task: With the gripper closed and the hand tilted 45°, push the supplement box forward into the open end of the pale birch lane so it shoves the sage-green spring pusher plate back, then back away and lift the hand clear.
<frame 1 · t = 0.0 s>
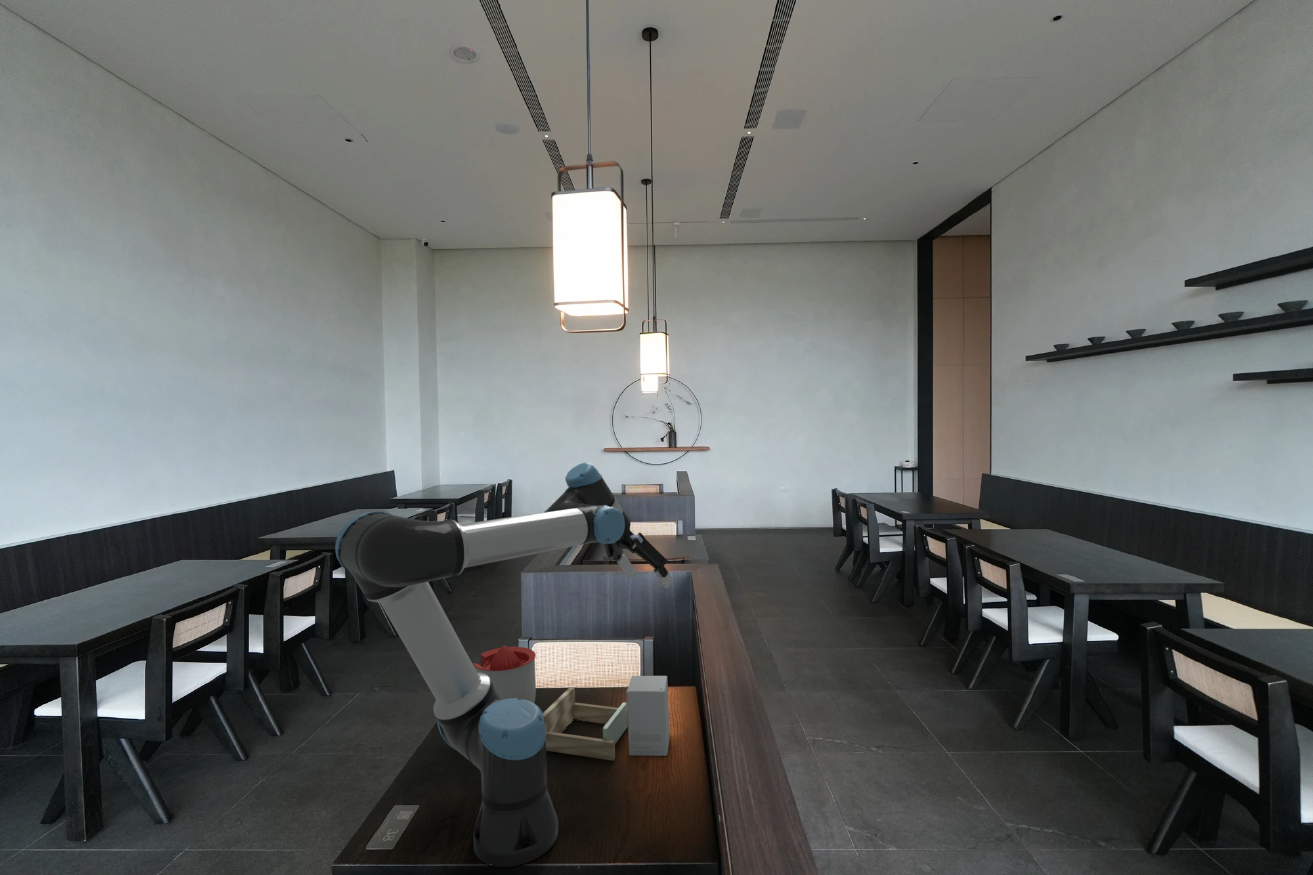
hand: (650, 579, 151), 36 cm above the table, tool tilted 35°, fingers open, 13 cm apart
citrus juicer: (503, 723, 151), on the table
pusher lane: (595, 737, 143), on the table
supplement box: (649, 746, 138), on the table
pusher: (615, 727, 141), point 3 cm above the table, slide at 0.0 cm
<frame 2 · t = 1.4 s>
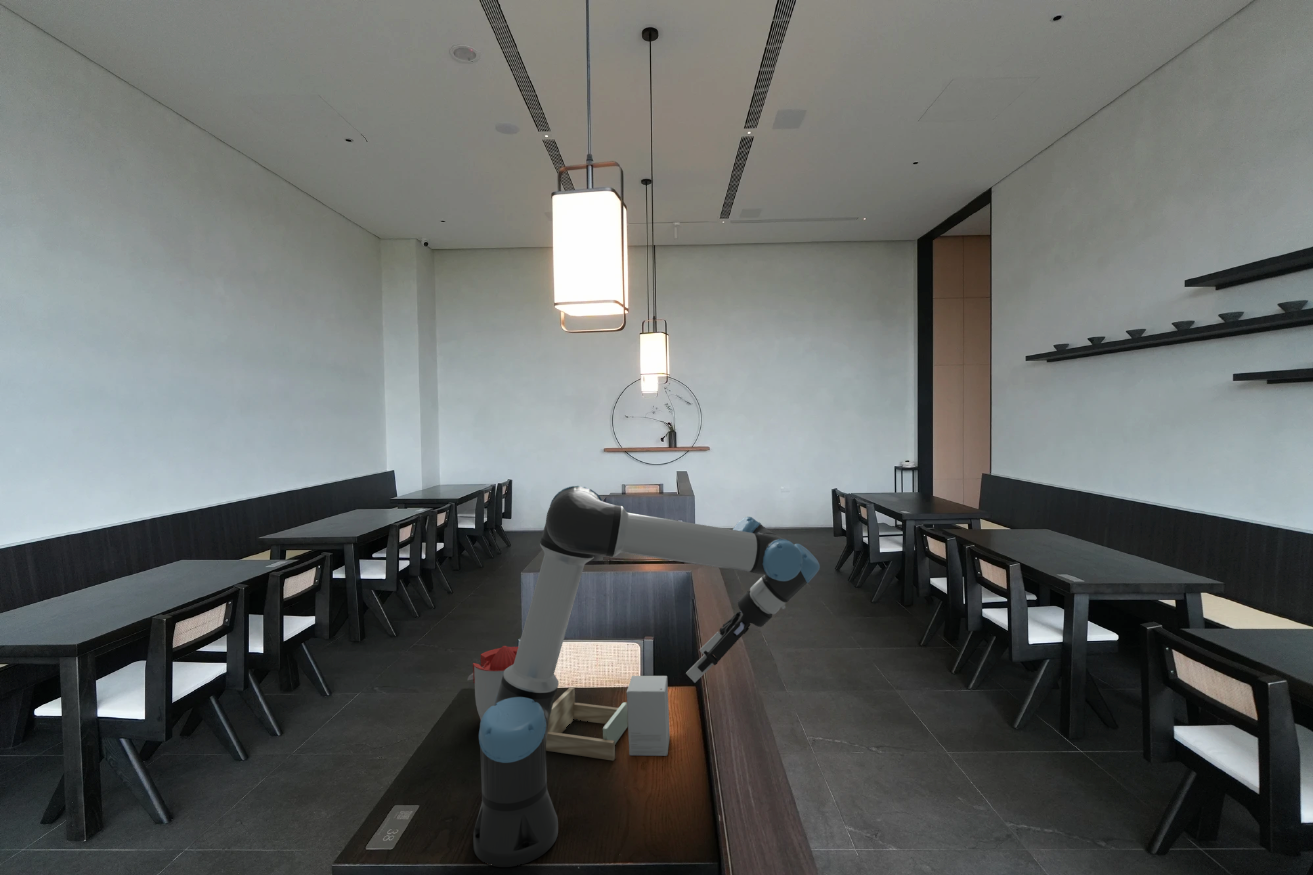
hand: (697, 665, 135), 20 cm above the table, tool tilted 45°, fingers open, 13 cm apart
nothing on the table moved.
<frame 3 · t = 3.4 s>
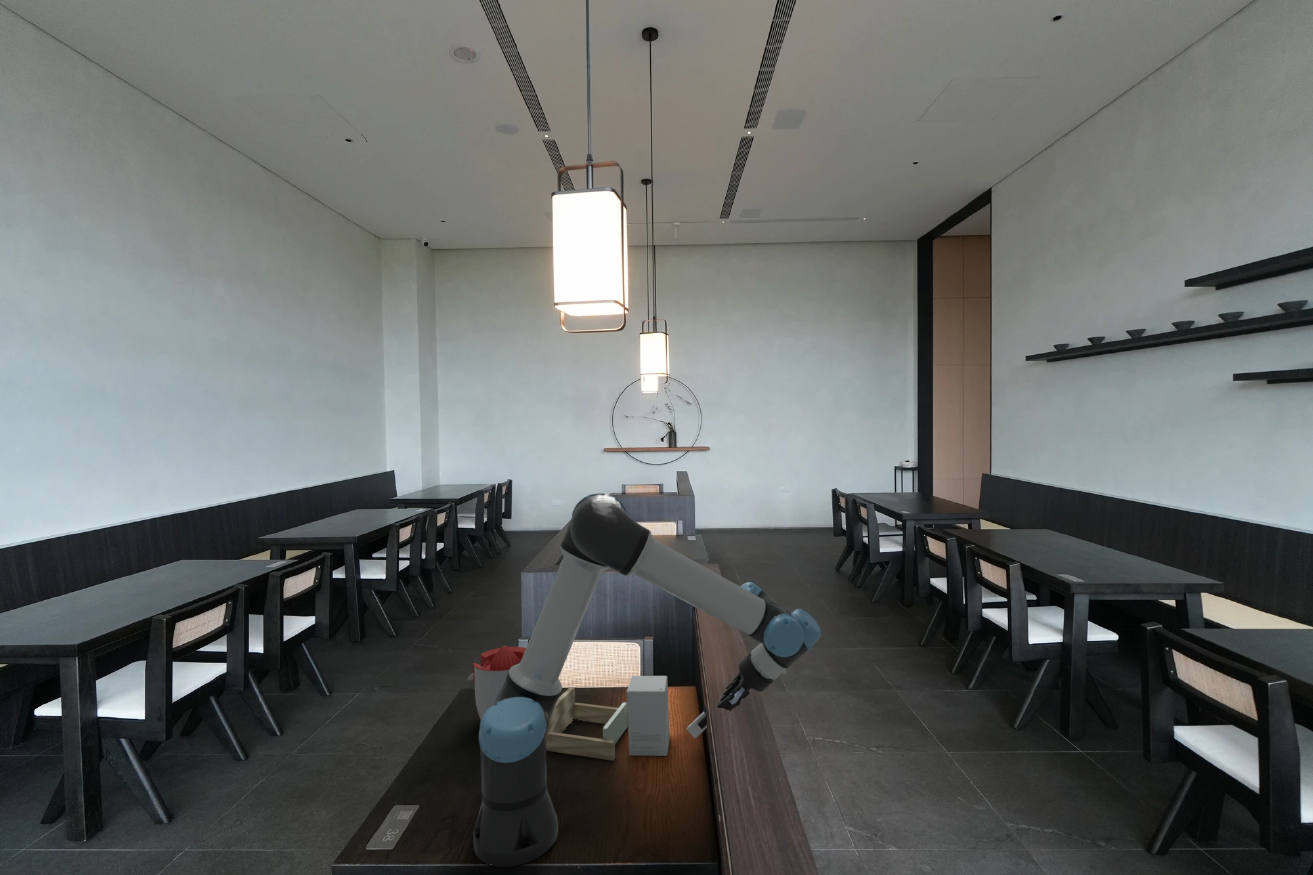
hand: (691, 732, 135), 4 cm above the table, tool tilted 45°, fingers closed
nothing on the table moved.
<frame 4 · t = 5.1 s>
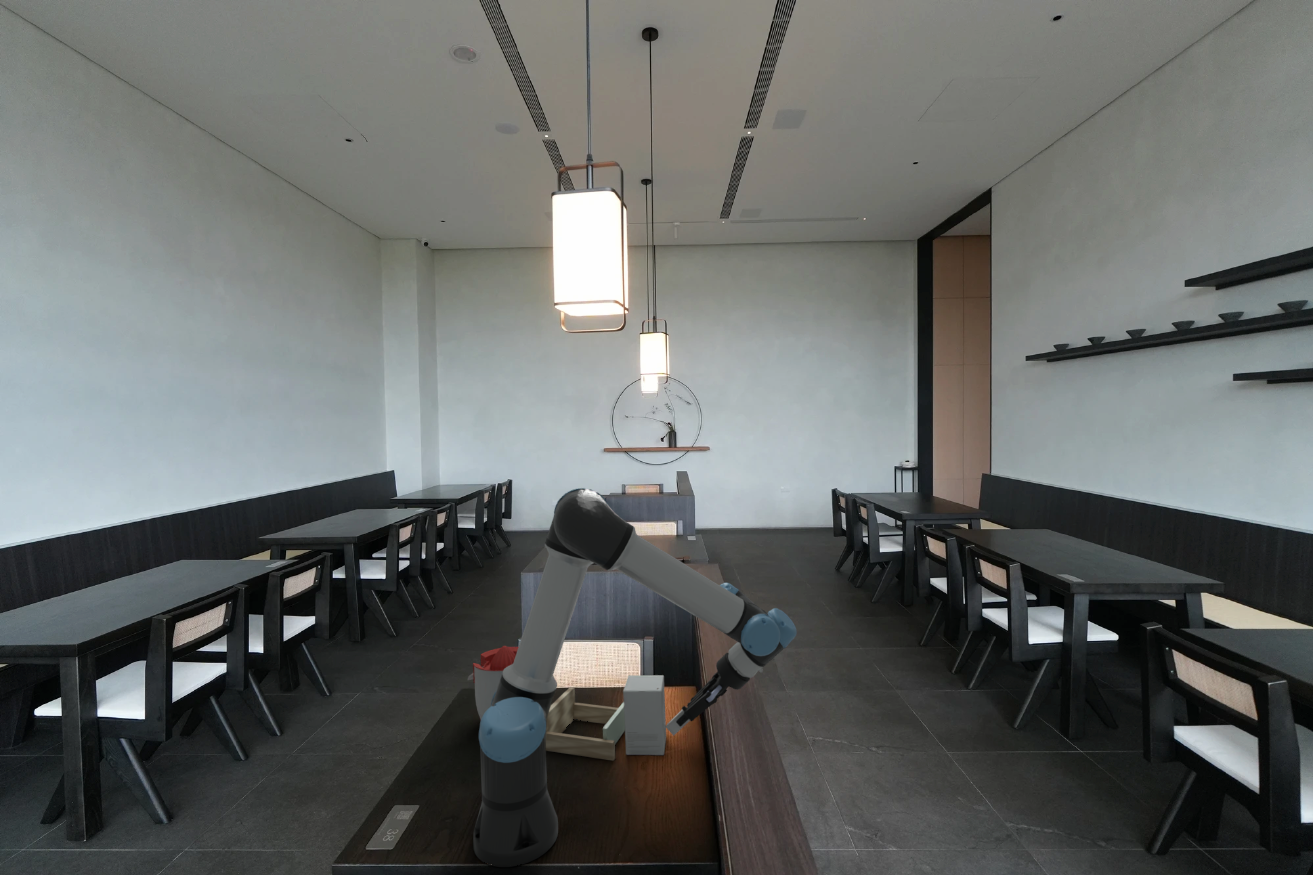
hand: (670, 729, 137), 4 cm above the table, tool tilted 45°, fingers closed
supplement box: (646, 746, 139), on the table, touching gripper
everything else where it was.
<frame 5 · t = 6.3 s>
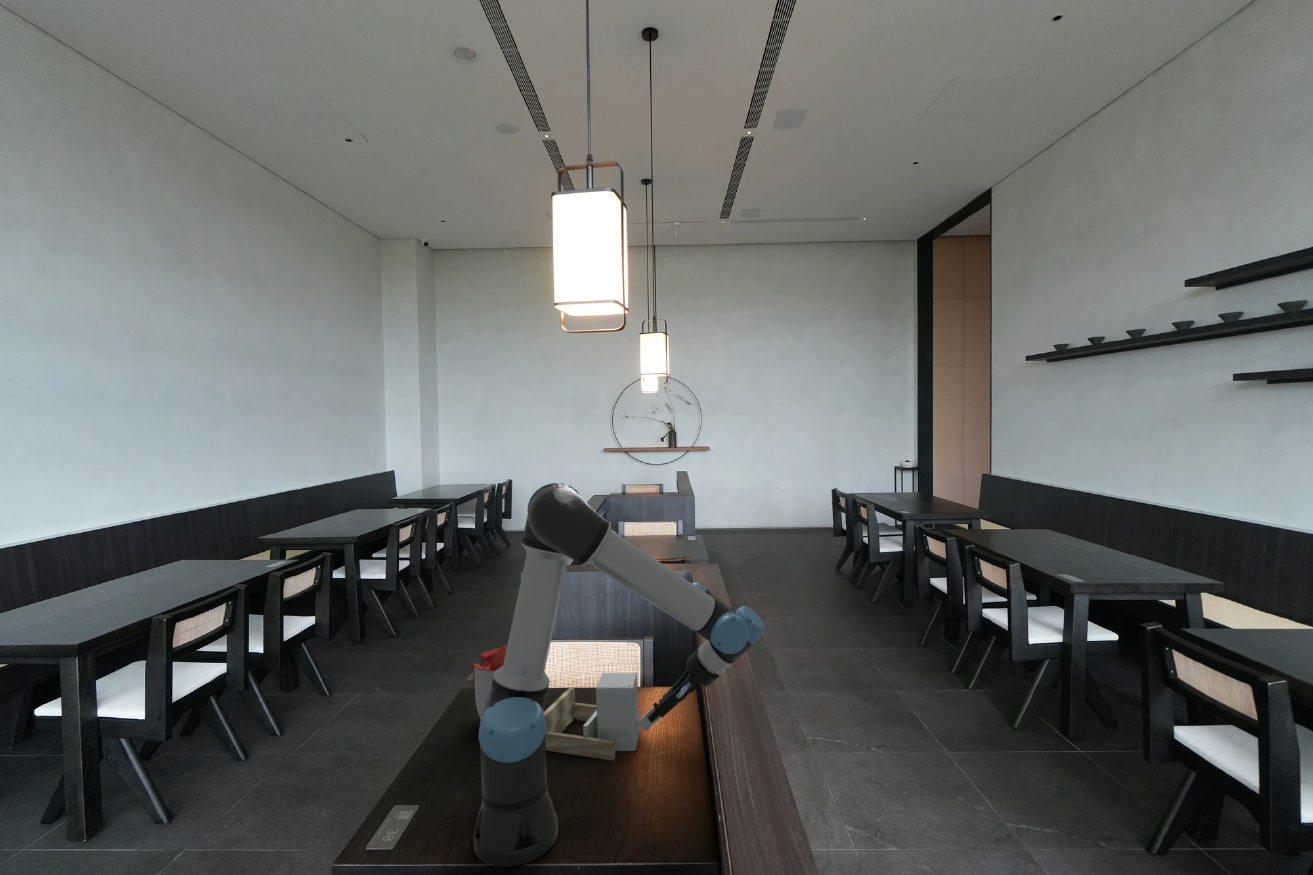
hand: (642, 725, 140), 4 cm above the table, tool tilted 45°, fingers closed
supplement box: (619, 742, 141), on the table, touching gripper
pusher: (597, 724, 142), point 3 cm above the table, slide at 4.9 cm
everything else where it was.
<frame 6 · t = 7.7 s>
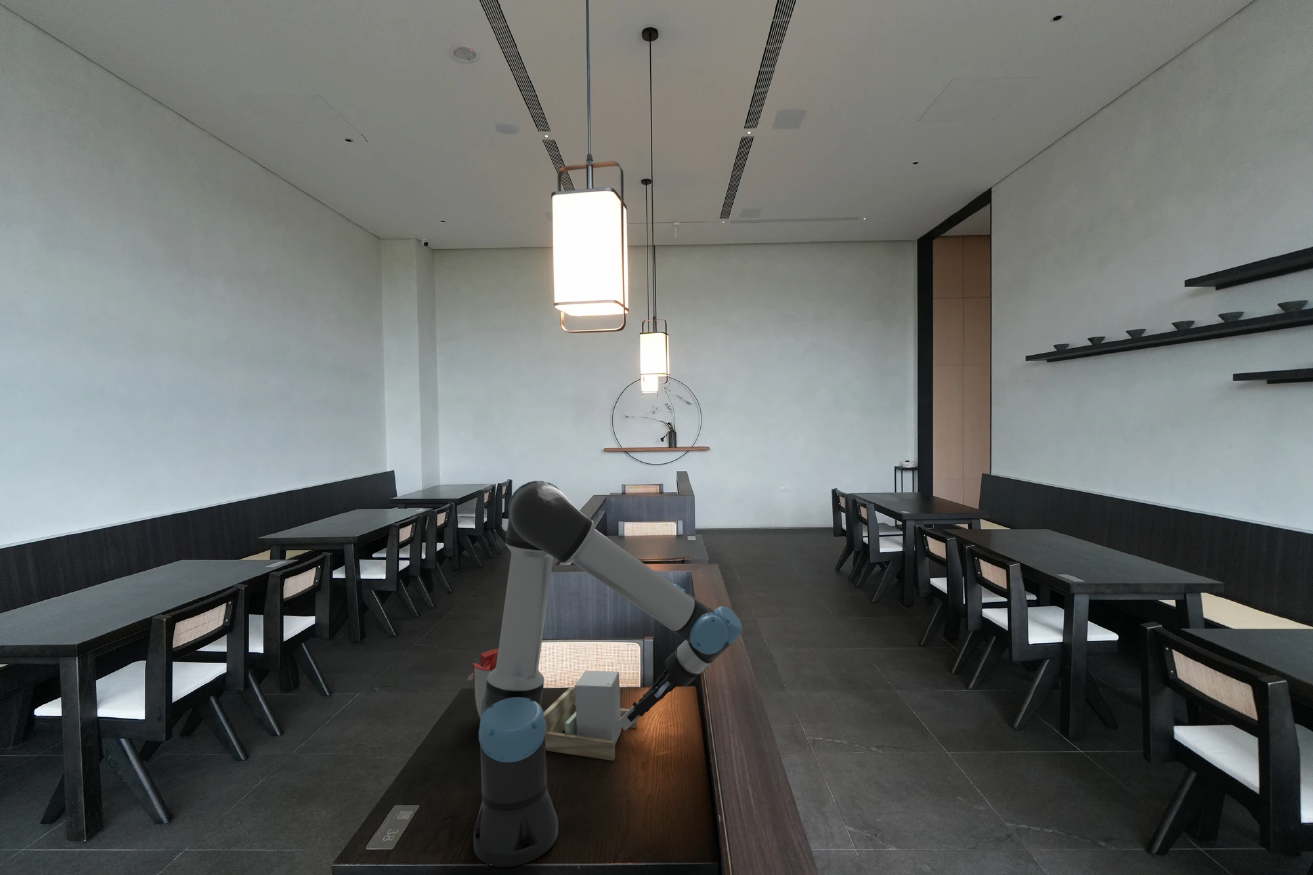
hand: (622, 724, 140), 4 cm above the table, tool tilted 45°, fingers closed
supplement box: (599, 739, 142), on the table, touching gripper, pusher
pusher: (579, 722, 144), point 3 cm above the table, slide at 9.5 cm, touching supplement box
everything else where it was.
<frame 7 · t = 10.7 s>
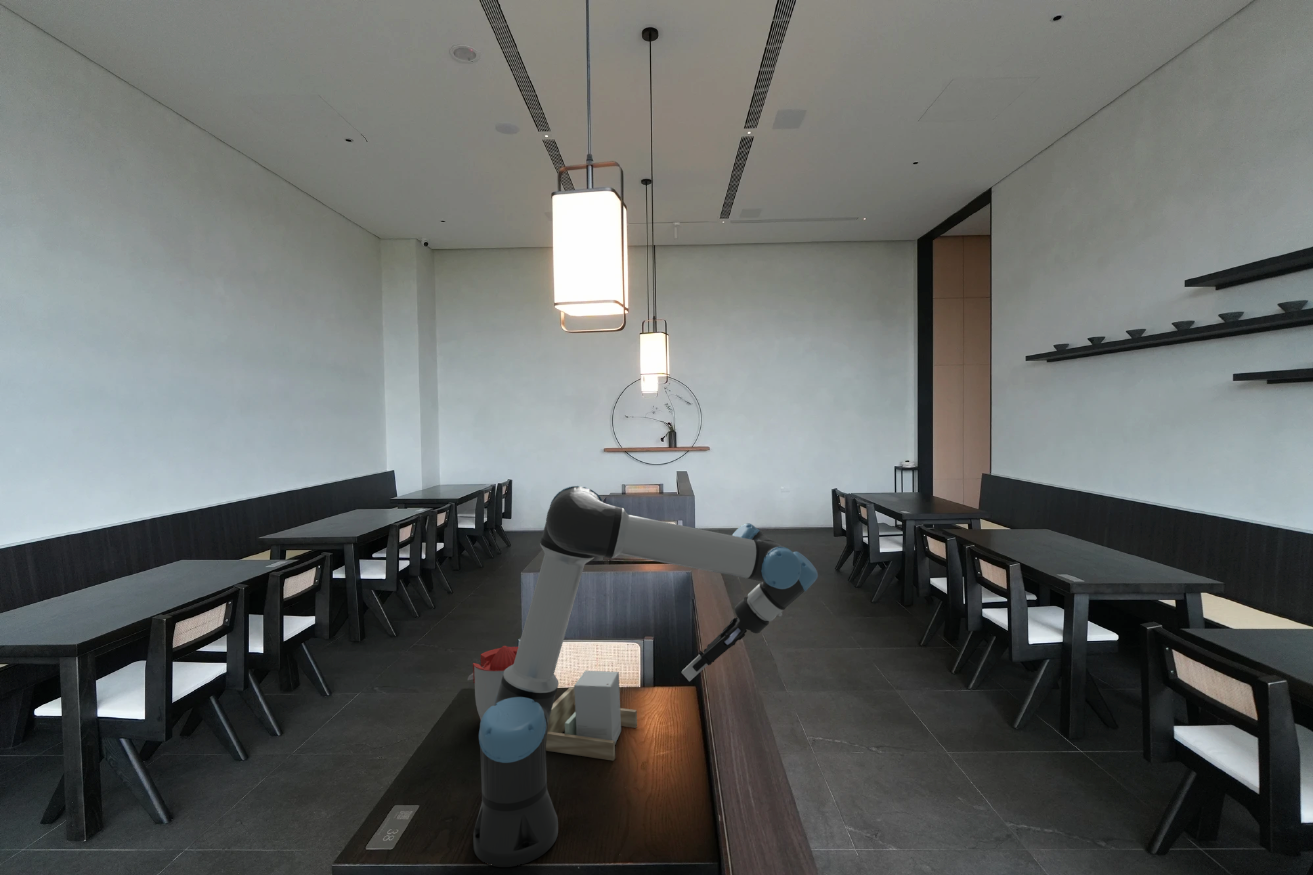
hand: (686, 675, 136), 17 cm above the table, tool tilted 45°, fingers closed
supplement box: (599, 740, 142), on the table
pusher: (579, 722, 144), point 3 cm above the table, slide at 9.6 cm
everything else where it was.
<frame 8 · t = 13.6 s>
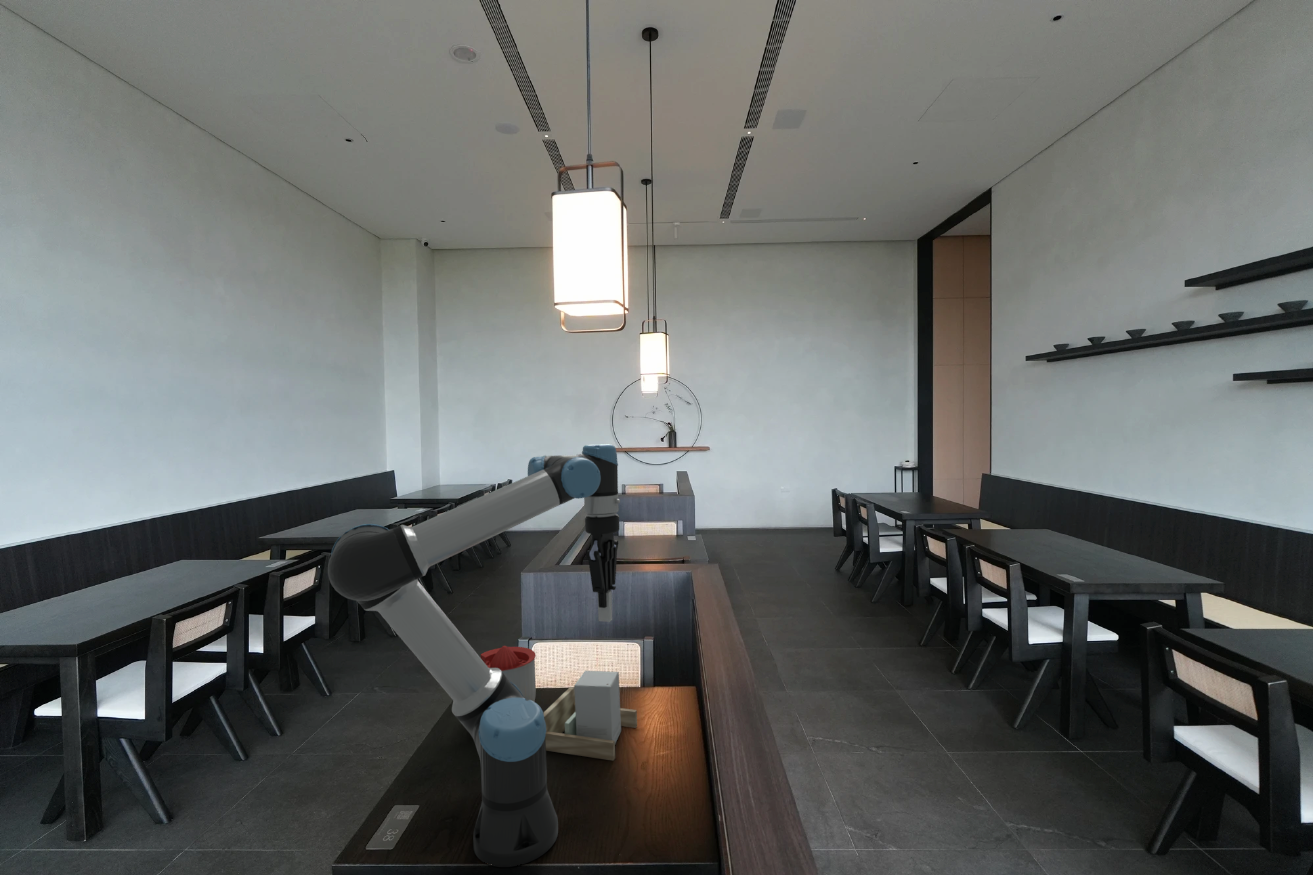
hand: (605, 620, 130), 32 cm above the table, tool pointing down, fingers closed
nothing on the table moved.
at the end: supplement box inside the target area (0.8 cm from its centre), on the table; supplement box tilted 0°; pusher slide at 9.6 cm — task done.
